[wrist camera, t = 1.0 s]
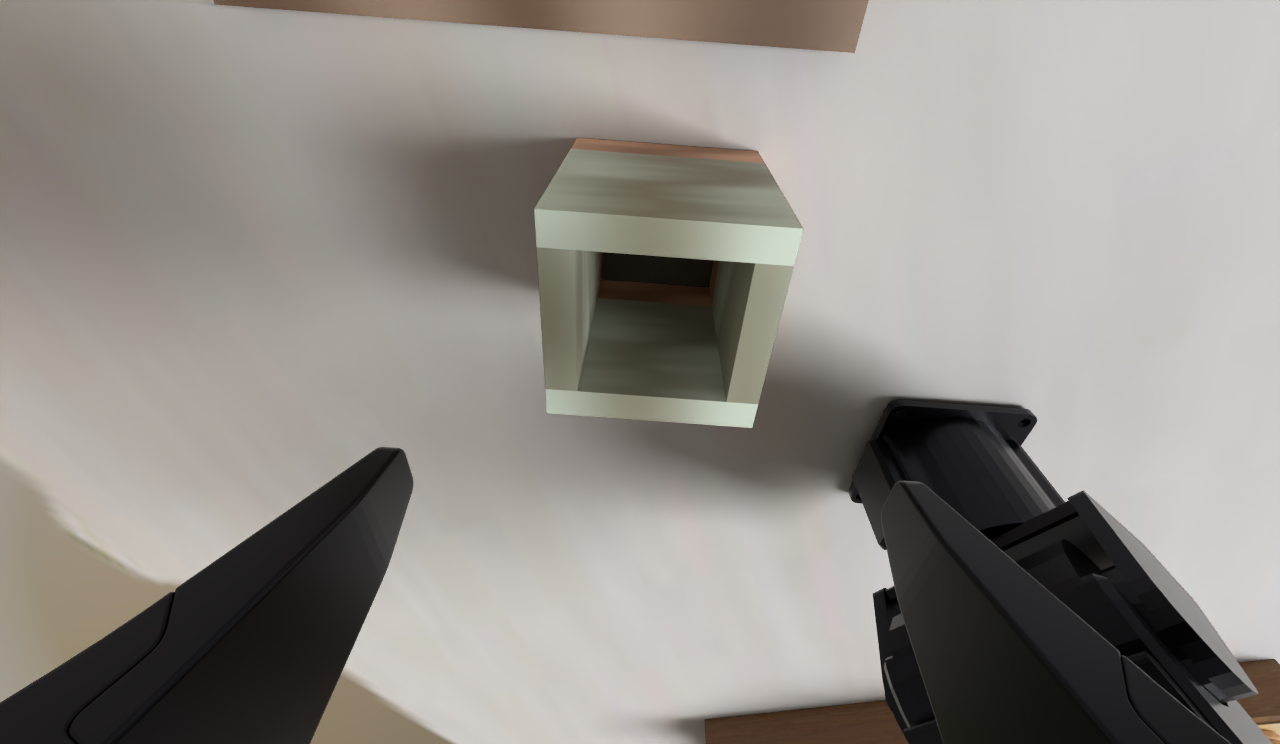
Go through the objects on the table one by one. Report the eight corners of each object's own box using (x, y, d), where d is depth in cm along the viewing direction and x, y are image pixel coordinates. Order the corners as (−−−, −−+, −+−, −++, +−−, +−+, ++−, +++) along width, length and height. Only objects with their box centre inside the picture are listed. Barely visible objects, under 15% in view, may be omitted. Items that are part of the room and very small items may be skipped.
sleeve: (757, 151, 17) (803, 229, 11) (728, 309, 21) (752, 427, 15) (577, 137, 17) (534, 208, 11) (579, 298, 21) (546, 413, 15)
